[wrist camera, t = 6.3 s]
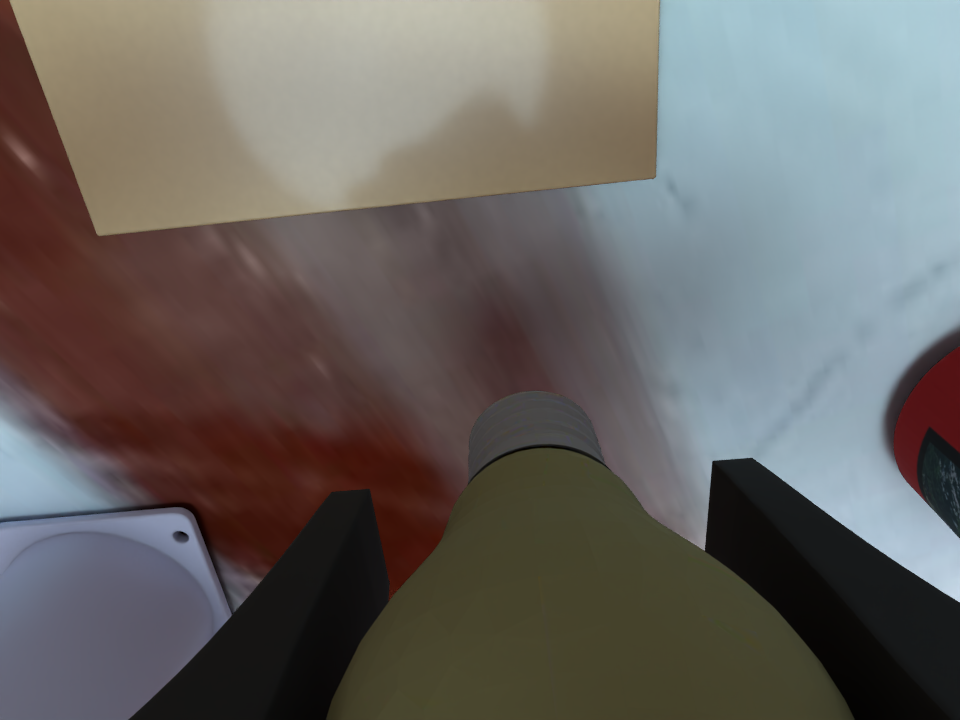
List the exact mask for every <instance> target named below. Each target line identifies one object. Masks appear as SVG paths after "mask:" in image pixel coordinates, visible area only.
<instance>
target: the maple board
mask: <svg viewBox="0 0 960 720" xmlns="http://www.w3.org/2000/svg"><path fill="white" fill-rule="evenodd" d="M10 3H11V6H12V8H13V11H14V14H15V16H16V19H17V22H18V24H19V27H20V30H21V32H22V35H23V38H24V40H25V43H26V46H27V48H28V51H29V54H30V57H31V59H32V62H33V65H34V67H35V70H36V73H37V75H38V78H39V81H40V83H41V86H42V89H43V91H44V94H45V97H46V99H47V102H48V105H49V107H50V110H51V113H52V115H53V118H54V121H55V123H56V126H57V129H58V131H59V134H60V137H61V139H62V142H63V145H64V147H65V150H66V153H67V155H68V158H69V161H70V163H71V166H72V169H73V171H74V174H75V177H76V180H77V182H78V185H79V188H80V190H81V193H82V196H83V198H84V201H85V204H86V206H87V209H88V212H89V214H90V217H91V220H92V222H93V225H94V228H95V230H96V233H97V235H98V236H106V235H115V234H125V233H135V232H144V231H154V230H164V229H173V228H183V227H192V226H202V225H212V224H221V223H231V222H241V221H250V220H260V219H270V218H279V217H289V216H299V215H308V214H318V213H328V212H337V211H347V210H356V209H366V208H376V207H385V206H395V205H405V204H414V203H424V202H434V201H443V200H453V199H463V198H472V197H482V196H492V195H501V194H511V193H521V192H530V191H540V190H549V189H559V188H569V187H578V186H588V185H598V184H607V183H617V182H627V181H636V180H646V179H654V178H655V177H656V156H657V110H658V63H659V16H660V0H10Z"/></svg>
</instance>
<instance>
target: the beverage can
mask: <svg viewBox="0 0 960 720" xmlns="http://www.w3.org/2000/svg"><path fill="white" fill-rule="evenodd" d="M894 455H895V459H896V463H897V465H898V468H899V470H900V472H901V474H902V476H903V477H904V478H905V480H906V481H907V482H908V483H909V485H910V486H911V487H912V488H913V489H914V490H915V491H916V492H917V493H918V494H919V495H920V496H921V497H922V498H923V499H924V501H925V502H926V503H927V504H928V505H929V506H930V507H931V508H932V509H933V510H934V511H935V512H936V513H937V514H938V516H939V517H940V518H941V519H942V520H943V521H944V522H945V523H946V524H947V525H948V526H949V527H950V528H951V529H952V531H953V532H954V533H955V534H956V535H957V536H958V537H959V538H960V346H959V347H958V348H956V349H954V350H953V351H952V352H950V353H949V354H948V355H946V356H945V357H944V358H942V359H941V360H940V361H939V362H938V363H937V364H935V365H934V366H933V367H932V368H931V369H930V370H929V371H928V372H927V373H926V374H925V375H924V376H923V377H922V379H921V380H920V381H919V382H918V384H917V385H916V386H915V387H914V389H913V390H912V392H911V393H910V395H909V396H908V398H907V400H906V401H905V403H904V405H903V407H902V409H901V412H900V414H899V417H898V420H897V423H896V427H895V432H894Z"/></svg>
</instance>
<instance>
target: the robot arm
mask: <svg viewBox="0 0 960 720" xmlns="http://www.w3.org/2000/svg"><path fill="white" fill-rule="evenodd" d="M179 531H182V532H184V533H186V534H187V535H183V534H181V533H180V532H179ZM705 552H706V553H708V554H709V555H710V556H712V557H713V558H715V559H716V560H718V561H719V562H720V563H722V564H723V565H725V566H726V567H727V568H729V569H730V570H731V571H733V572H734V573H735V574H736V575H737V576H739V577H740V578H741V579H742V580H744V581H745V582H746V583H747V584H749V585H750V586H751V587H752V588H753V589H754V590H755V591H756V592H757V593H759V594H760V595H761V596H762V597H763V598H764V599H765V600H766V601H767V602H768V603H770V604H771V605H772V606H773V607H774V608H775V609H776V610H777V611H778V612H779V613H780V615H781V616H782V617H783V618H784V619H785V620H786V621H787V623H788V624H789V625H790V626H791V627H792V628H793V630H794V631H795V632H796V633H797V634H798V635H799V636H800V638H801V639H802V640H803V641H804V642H805V644H806V645H807V646H808V647H809V648H810V650H811V651H812V652H813V653H814V655H815V656H816V657H817V658H818V659H819V661H820V662H821V663H822V665H823V666H824V668H825V669H826V671H827V673H828V674H829V676H830V677H831V679H832V680H833V682H834V684H835V685H836V687H837V688H838V690H839V691H840V693H841V694H842V696H843V698H844V699H845V701H846V703H847V705H848V707H849V709H850V711H851V713H852V715H853V717H854V719H855V720H960V602H958V601H956V600H955V599H953V598H951V597H950V596H948V595H946V594H945V593H943V592H942V591H940V590H939V589H937V588H935V587H934V586H932V585H931V584H929V583H928V582H926V581H925V580H923V579H921V578H920V577H918V576H917V575H915V574H914V573H912V572H911V571H909V570H907V569H906V568H904V567H903V566H901V565H900V564H898V563H897V562H895V561H894V560H892V559H891V558H889V557H888V556H886V555H885V554H883V553H882V552H881V551H879V550H878V549H876V548H875V547H873V546H872V545H870V544H869V543H867V542H866V541H865V540H863V539H862V538H860V537H859V536H858V535H856V534H855V533H853V532H852V531H851V530H849V529H848V528H846V527H845V526H844V525H842V524H841V523H839V522H838V521H837V520H835V519H834V518H833V517H831V516H830V515H828V514H827V513H826V512H824V511H823V510H822V509H820V508H819V507H818V506H816V505H815V504H814V503H812V502H811V501H810V500H808V499H807V498H806V497H804V496H803V495H802V494H800V493H799V492H798V491H796V490H795V489H794V488H792V487H791V486H790V485H788V484H787V483H786V482H784V481H783V480H782V479H780V478H779V477H778V476H776V475H775V474H774V473H772V472H771V471H770V470H768V469H767V468H766V467H764V466H763V465H761V464H760V463H759V462H757V461H756V460H754V459H753V458H744V459H731V460H719V461H713V462H712V474H711V485H710V497H709V509H708V521H707V533H706V545H705ZM389 584H390V583H389V579H388V574H387V569H386V564H385V560H384V555H383V550H382V545H381V541H380V536H379V531H378V526H377V522H376V517H375V512H374V507H373V503H372V498H371V493H370V489H363V490H351V491H339V492H332V493H331V494H330V495H329V496H328V497H327V498H326V500H325V501H324V502H323V503H322V505H321V506H320V507H319V509H318V510H317V511H316V512H315V514H314V515H313V516H312V518H311V519H310V520H309V522H308V523H307V524H306V526H305V527H304V528H303V529H302V531H301V532H300V533H299V535H298V536H297V537H296V539H295V540H294V541H293V542H292V544H291V545H290V546H289V548H288V549H287V550H286V551H285V553H284V554H283V555H282V556H281V558H280V559H279V560H278V561H277V563H276V564H275V565H274V566H273V568H272V569H271V570H270V571H269V572H268V574H267V575H266V576H265V577H264V579H263V580H262V581H261V582H260V583H259V585H258V586H257V587H256V588H255V590H254V591H253V592H252V593H251V594H250V595H249V597H248V598H247V599H246V600H245V601H244V602H243V604H242V605H241V606H240V607H239V608H238V609H237V610H236V611H235V612H234V614H233V615H232V614H231V611H230V608H229V606H228V603H227V600H226V598H225V595H224V593H223V590H222V587H221V585H220V582H219V579H218V577H217V574H216V572H215V569H214V566H213V564H212V561H211V558H210V556H209V553H208V551H207V548H206V545H205V543H204V540H203V537H202V535H201V532H200V530H199V527H198V524H197V522H196V519H195V517H194V515H193V514H192V513H191V512H190V511H189V510H187V509H185V508H182V507H171V508H160V509H149V510H137V511H126V512H115V513H103V514H92V515H81V516H70V517H58V518H47V519H36V520H24V521H13V522H2V523H0V720H326V718H327V714H328V711H329V708H330V705H331V701H332V699H333V697H334V695H335V692H336V690H337V688H338V686H339V684H340V682H341V680H342V678H343V676H344V674H345V672H346V670H347V668H348V666H349V664H350V662H351V660H352V658H353V656H354V654H355V652H356V650H357V648H358V646H359V644H360V642H361V640H362V639H363V637H364V636H365V634H366V633H367V632H368V630H369V629H370V627H371V626H372V625H373V623H374V622H375V620H376V619H377V618H378V616H379V615H380V613H381V612H382V611H383V609H384V608H385V606H386V605H387V604H388V599H389Z"/></svg>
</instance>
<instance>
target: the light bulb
mask: <svg viewBox="0 0 960 720" xmlns="http://www.w3.org/2000/svg"><path fill="white" fill-rule="evenodd" d="M326 720H855V719H854V717H853V715H852V713H851V711H850V709H849V707H848V705H847V703H846V701H845V699H844V698H843V696H842V694H841V693H840V691H839V690H838V688H837V687H836V685H835V684H834V682H833V680H832V679H831V677H830V676H829V674H828V673H827V671H826V669H825V668H824V666H823V665H822V663H821V662H820V661H819V659H818V658H817V657H816V656H815V655H814V653H813V652H812V651H811V650H810V648H809V647H808V646H807V645H806V644H805V642H804V641H803V640H802V639H801V638H800V636H799V635H798V634H797V633H796V632H795V631H794V630H793V628H792V627H791V626H790V625H789V624H788V623H787V621H786V620H785V619H784V618H783V617H782V616H781V615H780V613H779V612H778V611H777V610H776V609H775V608H774V607H773V606H772V605H771V604H770V603H768V602H767V601H766V600H765V599H764V598H763V597H762V596H761V595H760V594H759V593H757V592H756V591H755V590H754V589H753V588H752V587H751V586H750V585H749V584H747V583H746V582H745V581H744V580H742V579H741V578H740V577H739V576H737V575H736V574H735V573H734V572H733V571H731V570H730V569H729V568H727V567H726V566H725V565H723V564H722V563H720V562H719V561H718V560H716V559H715V558H713V557H712V556H710V555H709V554H708V553H706V552H705V551H703V550H702V549H701V548H699V547H698V546H696V545H694V544H693V543H691V542H689V541H688V540H686V539H685V538H683V537H681V536H680V535H678V534H677V533H675V532H673V531H672V530H670V529H669V528H667V527H665V526H664V525H662V524H660V523H659V522H658V521H656V520H655V519H654V518H653V517H651V516H650V515H649V514H648V513H647V512H646V511H645V510H644V508H643V507H642V505H641V504H640V502H639V501H638V500H637V498H636V497H635V495H634V494H633V493H632V491H631V490H630V489H629V488H628V487H627V485H626V484H625V483H624V482H623V481H622V480H621V479H620V478H619V477H618V476H617V475H615V474H614V473H613V472H612V471H611V470H610V469H609V468H608V467H607V466H606V465H605V462H604V458H603V456H602V453H601V448H600V446H599V443H598V439H597V437H596V434H595V431H594V429H593V426H592V423H591V421H590V419H589V418H588V416H587V415H586V414H585V412H584V411H583V410H582V409H581V407H580V406H578V405H577V404H576V403H574V402H573V401H572V400H570V399H568V398H566V397H564V396H562V395H559V394H555V393H551V392H544V391H526V392H520V393H516V394H512V395H509V396H507V397H505V398H502V399H500V400H498V401H496V402H495V403H494V404H492V405H491V406H489V407H488V408H487V409H486V410H485V411H484V412H483V413H482V414H481V415H480V416H479V417H478V419H477V421H476V423H475V424H474V426H473V429H472V431H471V434H470V440H469V481H468V485H467V487H466V488H465V490H464V491H463V492H462V494H461V495H460V497H459V498H458V500H457V501H456V503H455V504H454V507H453V509H452V512H451V515H450V518H449V520H448V523H447V526H446V529H445V532H444V534H443V537H442V540H441V541H440V543H439V544H438V545H437V547H436V548H435V550H434V551H433V552H432V553H431V554H430V556H429V557H428V558H427V559H426V560H425V561H424V562H423V563H422V564H421V565H420V567H419V568H418V569H417V570H416V571H415V572H414V573H413V574H412V575H411V576H410V578H409V579H408V580H407V581H406V582H405V583H404V584H403V585H402V586H401V587H400V589H399V590H398V591H397V592H396V593H395V594H394V595H393V597H392V598H391V599H390V601H389V602H388V604H387V605H386V606H385V608H384V609H383V611H382V612H381V613H380V615H379V616H378V618H377V619H376V620H375V622H374V623H373V625H372V626H371V627H370V629H369V630H368V632H367V633H366V634H365V636H364V637H363V639H362V640H361V642H360V644H359V646H358V648H357V650H356V652H355V654H354V656H353V658H352V660H351V662H350V664H349V666H348V668H347V670H346V672H345V674H344V676H343V678H342V680H341V682H340V684H339V686H338V688H337V690H336V692H335V695H334V697H333V699H332V701H331V705H330V708H329V711H328V714H327V718H326Z"/></svg>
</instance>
